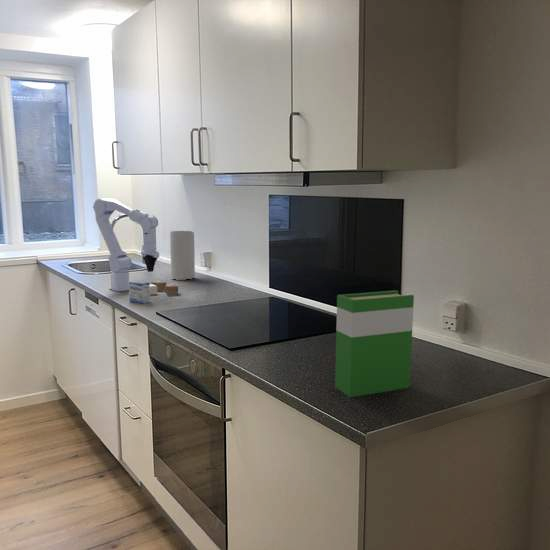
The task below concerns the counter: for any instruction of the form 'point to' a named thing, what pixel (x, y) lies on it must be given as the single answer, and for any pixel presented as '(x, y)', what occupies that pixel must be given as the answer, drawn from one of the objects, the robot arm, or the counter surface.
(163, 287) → the dotted block
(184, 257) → the cylinder vase
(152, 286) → the plain block
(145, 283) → the medicine box
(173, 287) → the dotted block
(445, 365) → the counter surface
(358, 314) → the hardback book
